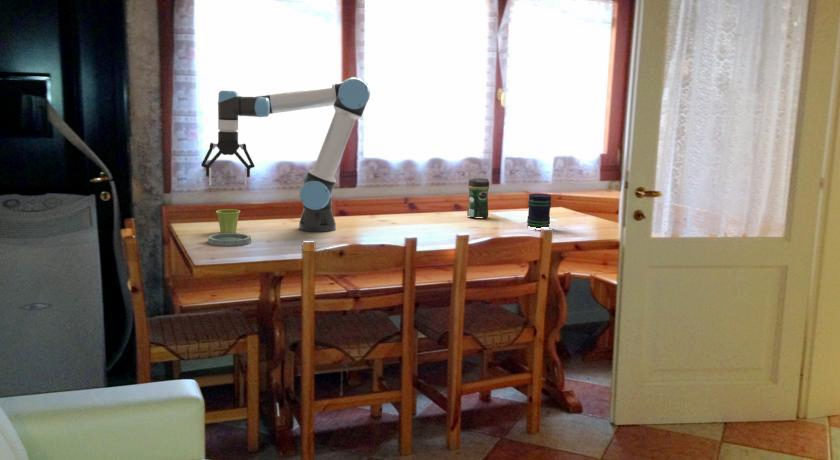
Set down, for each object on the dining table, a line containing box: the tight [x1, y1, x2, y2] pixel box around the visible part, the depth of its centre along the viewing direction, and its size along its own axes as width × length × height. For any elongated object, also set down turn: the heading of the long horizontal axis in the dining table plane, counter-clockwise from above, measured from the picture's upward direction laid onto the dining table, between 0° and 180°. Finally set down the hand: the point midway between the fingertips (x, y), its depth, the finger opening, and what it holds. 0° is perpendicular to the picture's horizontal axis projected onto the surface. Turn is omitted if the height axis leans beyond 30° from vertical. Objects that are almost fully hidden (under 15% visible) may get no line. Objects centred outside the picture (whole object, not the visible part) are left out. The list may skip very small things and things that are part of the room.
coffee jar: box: [466, 177, 490, 218], centre depth 380 cm, size 10×8×19 cm
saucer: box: [207, 232, 252, 247], centre depth 304 cm, size 16×16×2 cm
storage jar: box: [526, 193, 552, 228], centre depth 355 cm, size 10×10×15 cm
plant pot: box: [215, 208, 241, 234], centre depth 322 cm, size 9×9×9 cm
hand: (228, 185), depth 320 cm, fingers open, 13 cm apart
